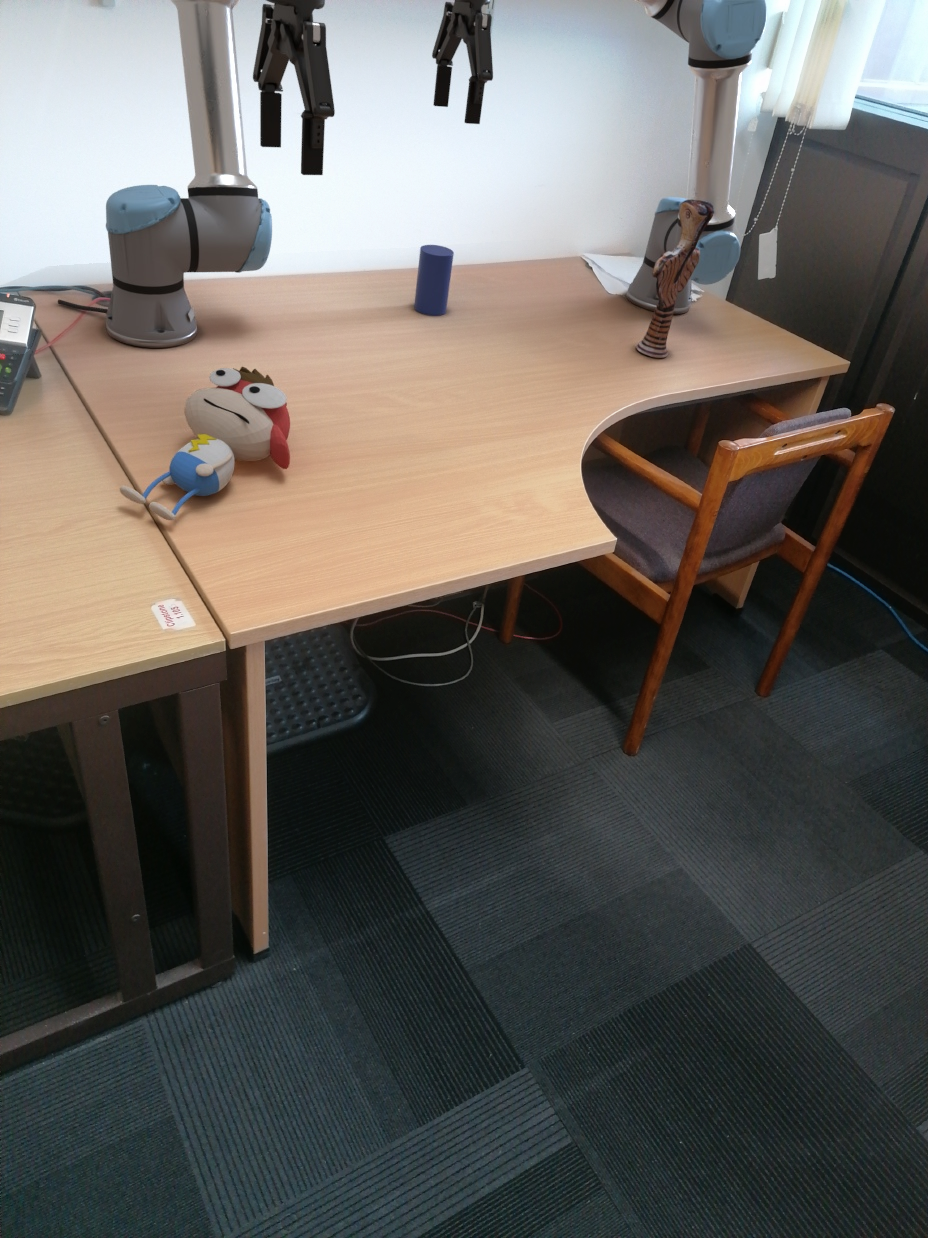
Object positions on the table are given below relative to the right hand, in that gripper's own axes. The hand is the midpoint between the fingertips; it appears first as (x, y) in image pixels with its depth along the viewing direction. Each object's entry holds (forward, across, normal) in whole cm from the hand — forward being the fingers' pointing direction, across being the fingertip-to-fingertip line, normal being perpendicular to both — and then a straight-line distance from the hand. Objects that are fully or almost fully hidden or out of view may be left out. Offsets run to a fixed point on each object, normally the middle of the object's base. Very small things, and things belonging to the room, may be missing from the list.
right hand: (455, 114), depth 164 cm
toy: (+36, +56, -59) cm, 89 cm away
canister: (+36, 0, -1) cm, 36 cm away
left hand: (-1, +40, -44) cm, 59 cm away
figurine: (+37, +26, +39) cm, 60 cm away
